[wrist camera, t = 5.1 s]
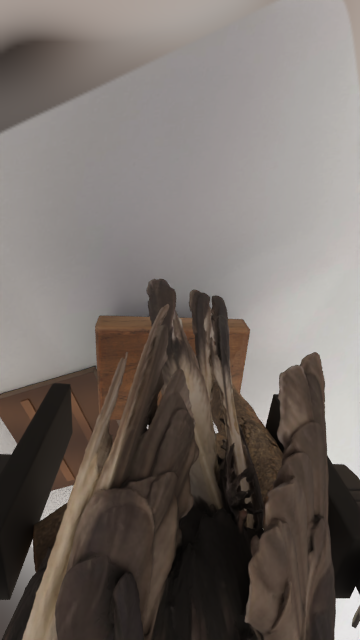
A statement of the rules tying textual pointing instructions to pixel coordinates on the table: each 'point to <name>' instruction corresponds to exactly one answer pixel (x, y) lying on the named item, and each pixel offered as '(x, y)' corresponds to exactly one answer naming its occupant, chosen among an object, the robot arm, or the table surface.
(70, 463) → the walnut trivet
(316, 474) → the bird figurine
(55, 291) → the table surface
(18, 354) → the table surface
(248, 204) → the table surface
